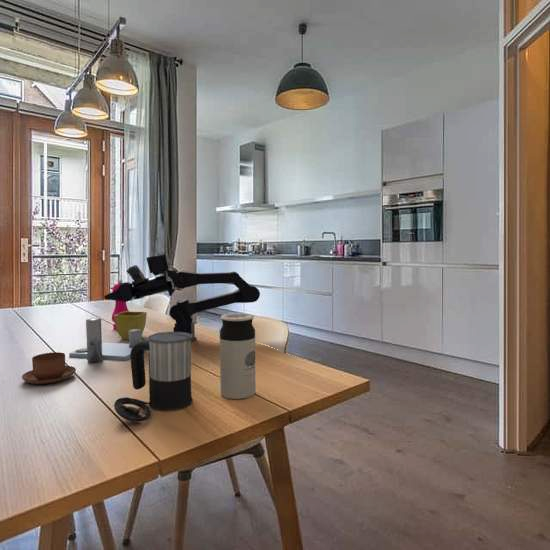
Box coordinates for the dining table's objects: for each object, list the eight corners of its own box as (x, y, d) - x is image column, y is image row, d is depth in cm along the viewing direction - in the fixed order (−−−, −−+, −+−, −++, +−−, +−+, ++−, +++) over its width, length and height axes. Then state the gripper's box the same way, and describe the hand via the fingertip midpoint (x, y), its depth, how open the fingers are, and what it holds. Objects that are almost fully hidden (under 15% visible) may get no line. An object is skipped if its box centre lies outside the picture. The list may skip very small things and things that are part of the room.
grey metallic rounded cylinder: (105, 360, 121) (103, 318, 120) (96, 364, 117) (95, 321, 116) (93, 359, 122) (91, 318, 121) (84, 363, 118) (82, 320, 117)
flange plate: (149, 348, 134) (149, 329, 134) (125, 360, 121) (124, 339, 120) (98, 345, 138) (97, 327, 138) (69, 356, 125) (68, 336, 124)
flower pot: (148, 335, 154) (147, 311, 153) (138, 340, 145) (137, 315, 145) (125, 334, 155) (124, 311, 154) (114, 340, 146) (113, 315, 146)
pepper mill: (124, 330, 162) (123, 280, 161) (108, 329, 164) (106, 280, 162) (134, 327, 169) (133, 278, 168) (118, 326, 171) (117, 278, 169)
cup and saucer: (27, 375, 108) (26, 352, 107) (78, 370, 112) (77, 348, 111) (17, 390, 97) (15, 365, 96) (73, 384, 101) (72, 360, 100)
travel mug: (213, 393, 94) (212, 315, 92) (240, 385, 99) (239, 311, 98) (235, 403, 88) (234, 320, 87) (262, 393, 94) (262, 315, 92)
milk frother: (196, 395, 93) (195, 330, 92) (183, 425, 77) (182, 348, 76) (133, 396, 93) (131, 331, 92) (107, 427, 77) (104, 349, 76)
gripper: (154, 264, 152) (112, 274, 151) (141, 262, 133) (93, 274, 132) (161, 293, 152) (119, 303, 151) (149, 296, 133) (101, 307, 132)
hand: (109, 296), depth 142 cm, fingers open, 9 cm apart
